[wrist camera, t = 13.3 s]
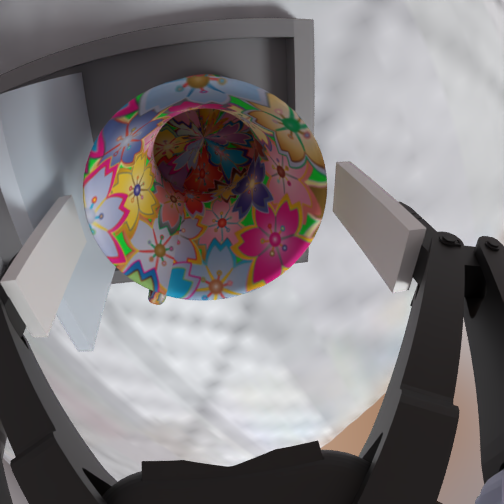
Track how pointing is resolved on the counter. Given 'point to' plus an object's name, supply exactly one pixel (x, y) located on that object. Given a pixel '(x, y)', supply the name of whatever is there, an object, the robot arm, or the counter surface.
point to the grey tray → (176, 74)
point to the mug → (204, 188)
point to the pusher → (54, 186)
